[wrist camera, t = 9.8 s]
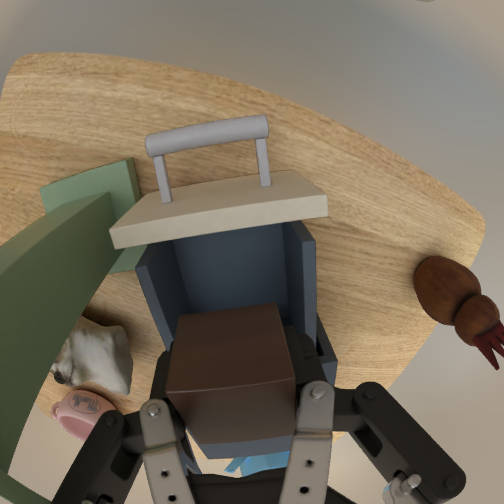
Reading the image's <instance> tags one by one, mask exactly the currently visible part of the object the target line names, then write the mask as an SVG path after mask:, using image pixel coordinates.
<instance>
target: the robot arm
mask: <svg viewBox="0 0 504 504" xmlns="http://www.w3.org/2000/svg"><path fill="white" fill-rule="evenodd" d="M283 331H284V334H285V338H286V342H287V346H288V350H289V354H290V358H291V362H292V366H293V370H294V374H295V377H296V411H297V412H298V416H297V422H296V428H295V432H294V433H293V437H292V443H291V448H290V453H289V458H288V463H287V467H281V468H275V469H267V470H262V471H259V472H256V473H253V474H250V475H247V476H244V477H240V478H234V477H228V476H222V475H216V474H202V472H201V470H200V469H199V467H198V465H197V462H196V460H195V457H194V454H193V451H192V448H191V445H190V442H189V439H188V436H187V433H186V432H185V431H186V425H185V423H184V422H183V420H182V419H181V417H180V415H179V414H178V412H177V411H176V409H175V407H174V406H173V404H172V403H171V401H170V399H169V398H168V396H167V394H166V392H165V390H166V384H167V378H168V372H169V367H170V361H171V356H172V350H173V345H174V341H172V342H171V345H170V350H169V351H166V352H163V353H162V354H161V356H160V357H159V358H158V361H157V365H156V370H155V376H154V379H153V384H152V389H151V394H150V399H149V400H148V401H146V402H145V403H144V404H143V405H142V406H141V408H140V410H139V411H137V412H134V413H130V414H126V415H123V414H122V413H121V412H119V411H118V410H108V411H106V412H104V413H103V414H102V415H101V416H100V418H99V419H98V421H97V423H96V424H95V426H94V428H93V429H92V431H91V433H90V434H89V436H88V438H87V439H86V441H85V443H84V445H83V446H82V448H81V450H80V451H79V453H78V455H77V457H76V459H75V460H74V462H73V464H72V465H71V467H70V469H69V471H68V473H67V474H66V476H65V478H64V480H63V482H62V483H61V485H60V487H59V489H58V491H57V493H56V495H55V497H54V499H53V500H52V502H51V504H124V502H125V500H126V498H127V495H128V493H129V491H130V489H131V487H132V485H133V482H134V480H135V478H136V476H137V474H138V472H139V469H140V467H141V465H142V463H143V462H144V466H145V471H146V475H147V479H148V483H149V487H150V491H151V495H152V499H153V502H154V504H356V503H355V502H353V501H351V500H350V499H348V498H346V497H345V496H343V495H342V494H340V493H339V492H337V491H335V490H334V489H332V488H331V487H329V486H328V485H327V482H328V475H329V466H330V458H331V448H332V436H333V435H332V431H345V432H349V434H350V435H351V436H352V438H353V439H354V440H355V442H356V443H357V444H358V445H359V447H360V448H361V449H362V451H363V452H364V453H365V454H366V455H367V457H368V458H369V459H370V461H371V462H372V463H373V465H374V466H375V467H376V468H377V470H378V471H379V472H380V473H381V475H382V476H383V477H384V478H385V479H386V481H387V482H388V485H386V487H385V488H384V491H383V500H384V501H385V504H443V503H445V502H447V501H449V500H450V499H452V498H454V497H456V496H457V495H458V494H459V493H460V492H461V491H462V490H463V489H464V487H465V484H466V475H465V473H464V471H463V470H462V469H461V468H460V467H459V466H458V465H457V464H456V463H455V462H454V461H453V460H452V459H451V457H450V456H448V454H447V453H446V452H445V451H444V450H443V449H442V448H441V447H440V446H439V445H438V444H437V443H436V442H435V441H434V440H433V439H432V438H431V436H430V435H429V434H428V433H427V432H426V431H425V430H424V429H423V428H422V427H421V426H420V425H419V424H418V423H417V422H416V421H415V420H414V419H413V418H412V417H411V416H410V415H409V413H408V412H406V410H405V409H404V408H403V407H402V406H401V405H400V404H399V403H398V402H397V401H396V400H395V399H394V398H393V397H392V396H391V395H390V394H389V393H388V392H387V390H386V389H385V388H384V387H383V386H382V385H380V384H378V383H376V382H365V383H362V384H360V385H359V386H358V387H357V388H356V389H340V388H337V387H334V386H333V385H331V384H330V383H329V382H328V380H327V378H326V376H325V373H324V370H323V367H322V364H321V362H320V359H319V356H318V353H317V351H316V348H315V345H314V342H313V340H312V339H311V338H310V337H309V336H308V335H307V334H306V333H305V334H299V335H297V334H296V331H295V328H294V325H290V326H284V327H283Z"/></svg>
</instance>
